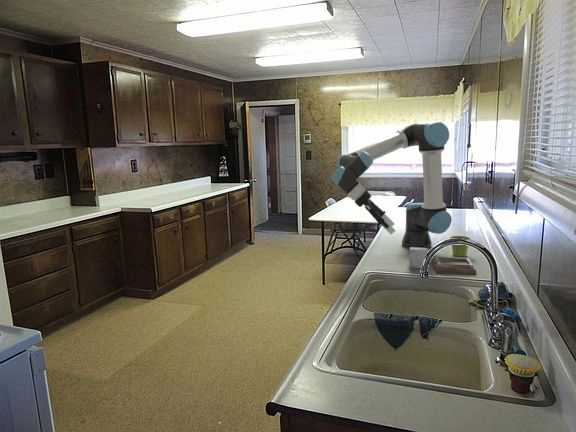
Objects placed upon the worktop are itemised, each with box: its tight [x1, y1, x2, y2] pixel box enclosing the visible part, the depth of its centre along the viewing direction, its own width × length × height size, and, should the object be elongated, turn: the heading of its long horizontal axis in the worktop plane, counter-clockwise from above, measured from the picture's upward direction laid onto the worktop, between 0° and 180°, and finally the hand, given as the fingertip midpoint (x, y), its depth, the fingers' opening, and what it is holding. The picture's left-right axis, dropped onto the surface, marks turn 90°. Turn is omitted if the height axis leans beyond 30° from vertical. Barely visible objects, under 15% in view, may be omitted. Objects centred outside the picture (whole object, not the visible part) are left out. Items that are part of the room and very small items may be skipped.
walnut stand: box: [432, 256, 477, 275], centre depth 188 cm, size 14×16×4 cm
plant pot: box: [449, 235, 472, 258], centre depth 206 cm, size 9×9×9 cm
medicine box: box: [408, 247, 429, 269], centre depth 191 cm, size 8×4×9 cm, turn 74°
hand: (393, 229), depth 190 cm, fingers open, 13 cm apart
